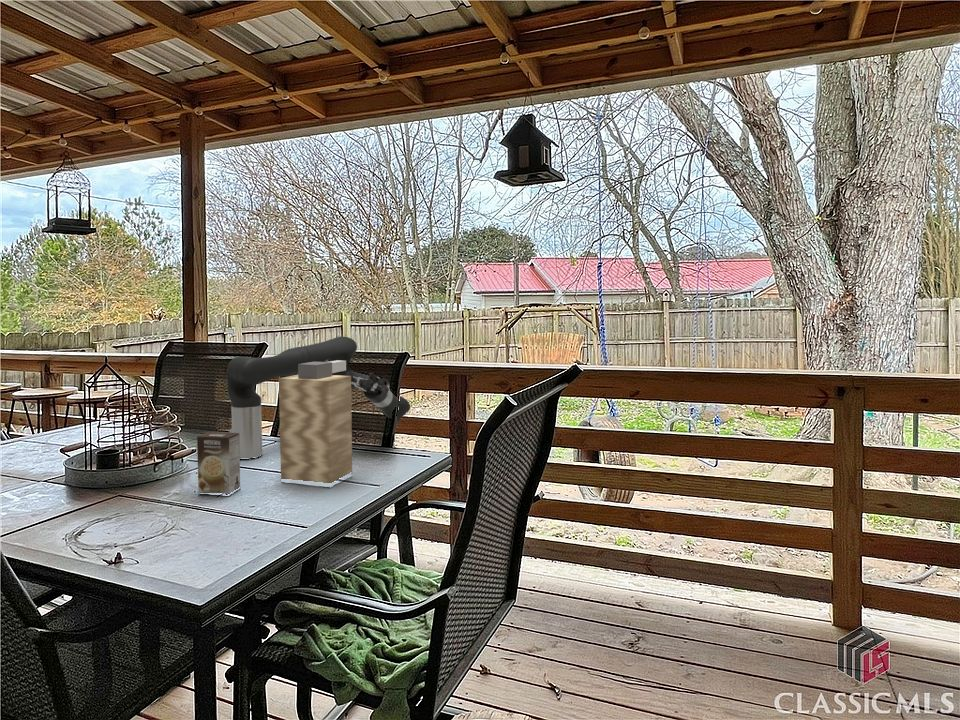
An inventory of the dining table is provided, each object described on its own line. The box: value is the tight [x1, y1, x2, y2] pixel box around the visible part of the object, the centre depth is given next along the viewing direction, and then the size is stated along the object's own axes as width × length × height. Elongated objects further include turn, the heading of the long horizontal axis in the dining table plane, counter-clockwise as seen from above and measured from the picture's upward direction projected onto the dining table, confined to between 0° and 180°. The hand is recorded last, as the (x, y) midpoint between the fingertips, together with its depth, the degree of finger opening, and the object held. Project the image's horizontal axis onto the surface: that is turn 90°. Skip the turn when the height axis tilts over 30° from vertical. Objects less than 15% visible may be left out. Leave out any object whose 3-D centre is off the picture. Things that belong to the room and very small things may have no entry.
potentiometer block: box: [297, 360, 346, 379], centre depth 178 cm, size 6×18×4 cm, turn 162°
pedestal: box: [278, 374, 353, 483], centre depth 175 cm, size 16×12×30 cm
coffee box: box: [196, 431, 241, 494], centre depth 163 cm, size 9×6×16 cm
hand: (358, 374), depth 197 cm, fingers open, 8 cm apart
